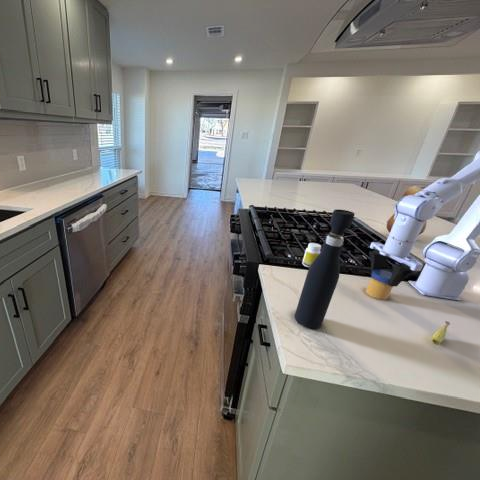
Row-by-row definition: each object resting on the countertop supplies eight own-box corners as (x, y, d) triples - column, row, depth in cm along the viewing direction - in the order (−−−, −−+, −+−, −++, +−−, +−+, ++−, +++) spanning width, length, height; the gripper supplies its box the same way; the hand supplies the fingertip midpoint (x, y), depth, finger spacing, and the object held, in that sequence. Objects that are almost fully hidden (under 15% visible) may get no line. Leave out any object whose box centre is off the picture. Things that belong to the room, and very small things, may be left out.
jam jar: (381, 290, 81) (389, 273, 78) (391, 301, 76) (400, 282, 73) (362, 288, 82) (369, 271, 79) (371, 298, 77) (379, 280, 74)
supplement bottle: (318, 269, 92) (324, 248, 89) (304, 267, 93) (310, 246, 90) (313, 262, 97) (319, 243, 93) (300, 261, 97) (305, 241, 94)
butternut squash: (411, 245, 115) (437, 191, 105) (377, 235, 126) (397, 184, 115) (423, 240, 121) (449, 188, 111) (390, 230, 132) (410, 182, 122)
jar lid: (373, 281, 75) (375, 276, 74) (368, 272, 80) (370, 267, 79) (399, 286, 73) (401, 281, 72) (392, 277, 78) (394, 272, 77)
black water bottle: (289, 312, 69) (320, 207, 57) (311, 312, 70) (346, 207, 58) (303, 329, 64) (341, 216, 52) (327, 328, 64) (370, 216, 52)
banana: (436, 331, 64) (443, 319, 63) (445, 336, 63) (453, 323, 61) (426, 345, 60) (434, 332, 58) (436, 350, 59) (445, 336, 57)
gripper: (367, 228, 77) (352, 267, 83) (413, 249, 64) (391, 293, 70) (389, 229, 78) (373, 267, 83) (439, 249, 65) (415, 293, 70)
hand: (383, 279), depth 77 cm, fingers closed on jar lid, 6 cm apart
